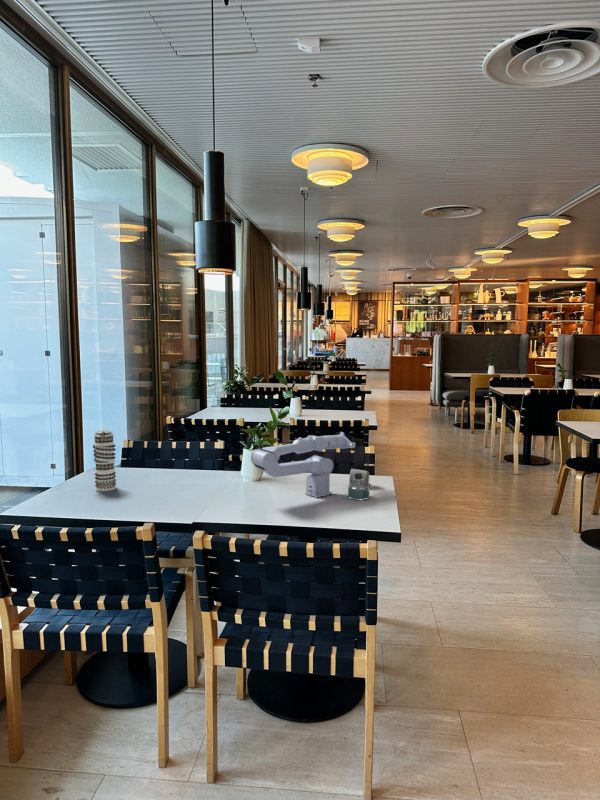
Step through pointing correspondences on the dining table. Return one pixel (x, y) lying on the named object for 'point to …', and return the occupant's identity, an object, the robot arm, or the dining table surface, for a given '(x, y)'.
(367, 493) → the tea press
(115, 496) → the dining table surface
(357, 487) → the black and white knob
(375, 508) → the dining table surface
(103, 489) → the white tiered cylinder
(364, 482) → the ceramic mug
